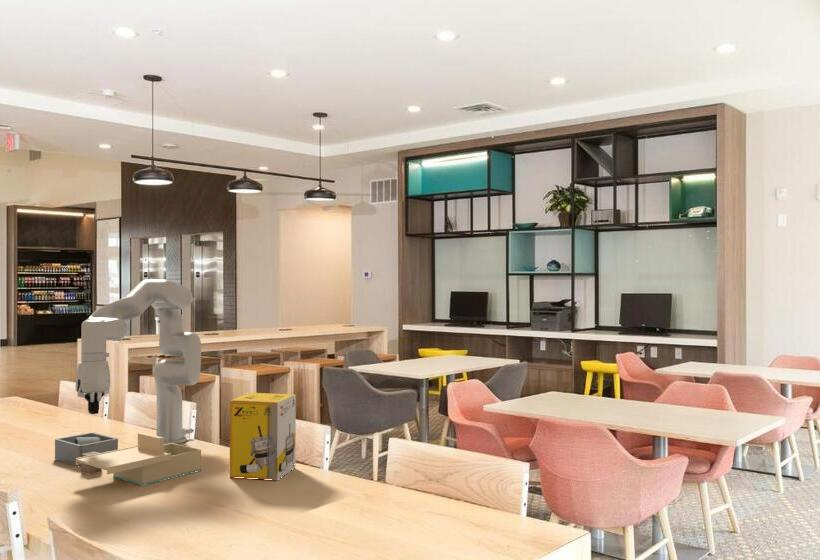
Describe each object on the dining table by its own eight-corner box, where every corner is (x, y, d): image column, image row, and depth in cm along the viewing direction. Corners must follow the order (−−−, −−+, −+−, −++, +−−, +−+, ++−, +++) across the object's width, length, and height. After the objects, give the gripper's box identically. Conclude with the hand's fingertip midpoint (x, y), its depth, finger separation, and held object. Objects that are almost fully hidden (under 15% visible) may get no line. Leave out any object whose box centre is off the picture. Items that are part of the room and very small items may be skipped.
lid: (138, 451, 253) (138, 430, 253) (171, 459, 242) (171, 438, 242) (75, 464, 235) (75, 442, 235) (107, 474, 225) (107, 451, 225)
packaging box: (277, 481, 241) (277, 402, 241) (229, 478, 244) (229, 400, 244) (295, 468, 257) (295, 394, 256) (250, 465, 260) (250, 392, 260)
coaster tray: (92, 451, 278) (92, 432, 278) (118, 458, 268) (118, 438, 268) (54, 459, 266) (54, 439, 266) (79, 466, 256) (79, 446, 256)
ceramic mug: (102, 458, 267) (102, 436, 267) (77, 462, 263) (77, 439, 263) (95, 453, 276) (95, 432, 276) (71, 456, 271) (71, 434, 271)
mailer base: (171, 463, 262) (171, 442, 262) (201, 470, 253) (201, 449, 252) (113, 476, 245) (113, 455, 245) (142, 485, 235) (142, 462, 235)
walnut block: (94, 469, 254) (94, 451, 254) (101, 471, 251) (101, 453, 251) (81, 472, 250) (81, 453, 250) (88, 474, 247) (88, 456, 247)
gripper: (108, 354, 258) (107, 408, 258) (65, 358, 246) (65, 415, 246) (120, 356, 254) (120, 411, 254) (78, 360, 242) (78, 418, 242)
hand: (93, 413), depth 250 cm, fingers closed
